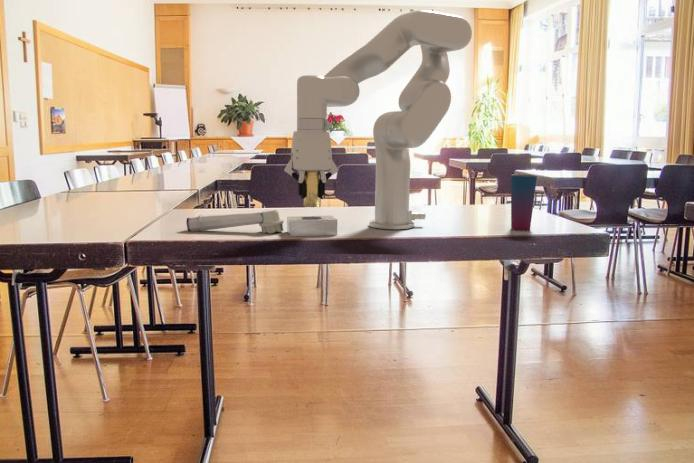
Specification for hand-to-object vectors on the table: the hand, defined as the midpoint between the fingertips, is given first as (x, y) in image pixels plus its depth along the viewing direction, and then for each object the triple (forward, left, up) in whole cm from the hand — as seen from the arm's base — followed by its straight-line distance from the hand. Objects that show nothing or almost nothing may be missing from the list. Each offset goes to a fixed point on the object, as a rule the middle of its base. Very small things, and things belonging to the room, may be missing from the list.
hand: (311, 197), depth 152 cm
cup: (-58, +4, -10) cm, 59 cm away
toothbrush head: (+19, -6, -10) cm, 22 cm away
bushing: (0, 0, -2) cm, 2 cm away
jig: (0, 0, -9) cm, 9 cm away
